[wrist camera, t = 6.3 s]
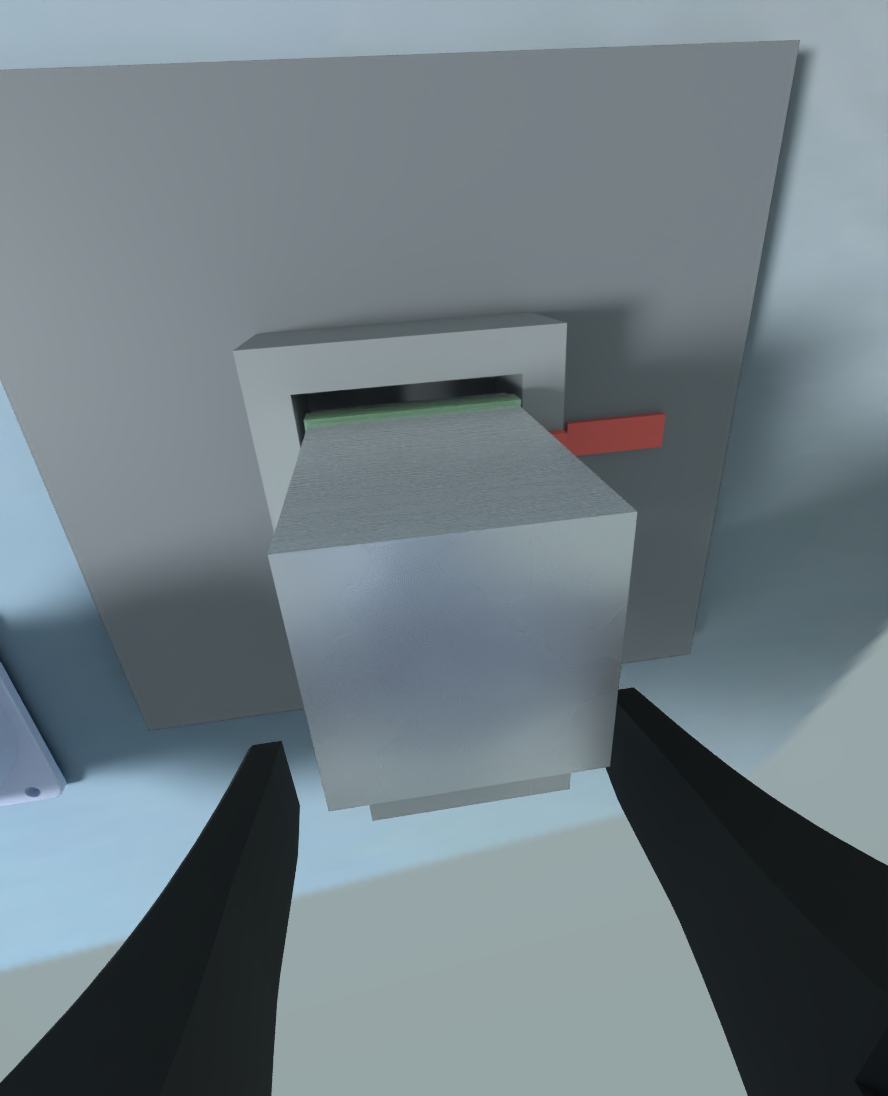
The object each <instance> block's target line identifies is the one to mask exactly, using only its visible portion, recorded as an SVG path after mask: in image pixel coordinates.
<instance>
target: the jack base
mask: <svg viewBox="0 0 888 1096" xmlns="http://www.w3.org/2000/svg"><path fill="white" fill-rule="evenodd" d="M799 42H800V40H786V41H759V42H733V43H706V44H679V45H652V46H626V47H599V48H572V49H545V50H519V51H492V52H465V53H438V54H412V55H385V56H358V57H332V58H305V59H278V60H251V61H225V62H198V63H171V64H144V65H118V66H91V67H64V68H37V69H11V70H0V380H1V383H2V385H3V387H4V390H5V392H6V394H7V397H8V399H9V402H10V404H11V406H12V409H13V411H14V413H15V416H16V418H17V420H18V423H19V425H20V428H21V430H22V432H23V435H24V437H25V439H26V442H27V444H28V447H29V449H30V451H31V454H32V456H33V458H34V461H35V463H36V466H37V468H38V470H39V473H40V475H41V477H42V480H43V482H44V484H45V487H46V489H47V492H48V494H49V496H50V499H51V501H52V503H53V506H54V508H55V511H56V513H57V515H58V518H59V520H60V522H61V525H62V527H63V529H64V532H65V534H66V537H67V539H68V541H69V544H70V546H71V548H72V551H73V553H74V556H75V558H76V560H77V563H78V565H79V567H80V570H81V572H82V574H83V577H84V579H85V582H86V584H87V586H88V589H89V591H90V593H91V596H92V598H93V601H94V603H95V605H96V608H97V610H98V612H99V615H100V617H101V620H102V622H103V624H104V627H105V629H106V631H107V634H108V636H109V638H110V641H111V643H112V646H113V648H114V650H115V653H116V655H117V657H118V660H119V662H120V665H121V667H122V669H123V672H124V674H125V676H126V679H127V681H128V683H129V686H130V688H131V691H132V693H133V695H134V698H135V700H136V702H137V705H138V707H139V710H140V712H141V714H142V717H143V719H144V721H145V724H146V726H147V728H148V731H151V730H158V729H165V728H172V727H179V726H186V725H193V724H200V723H207V722H214V721H221V720H228V719H235V718H242V717H249V716H257V715H264V714H271V713H278V712H285V711H292V710H299V709H304V705H303V701H302V697H301V693H300V688H299V684H298V680H297V676H296V672H295V668H294V663H293V659H292V655H291V651H290V647H289V642H288V638H287V634H286V630H285V626H284V621H283V617H282V613H281V609H280V605H279V600H278V596H277V592H276V588H275V584H274V579H273V575H272V571H271V567H270V563H269V558H268V552H269V549H270V546H271V542H272V539H273V536H274V533H275V529H276V526H277V523H278V520H279V517H280V513H281V510H282V507H283V504H284V500H285V497H286V494H287V491H288V487H289V484H290V481H291V478H292V474H293V471H294V468H295V465H296V462H297V458H298V455H299V452H300V449H301V445H302V442H303V439H304V436H305V432H306V431H305V426H304V417H305V415H306V413H312V411H313V410H323V409H334V408H345V407H355V406H366V405H376V404H387V403H398V402H408V401H419V400H429V399H440V398H451V397H461V396H472V395H482V394H493V393H504V392H505V393H506V394H515V395H516V396H517V397H519V398H520V399H521V407H522V408H523V409H524V410H525V411H526V412H527V413H528V414H529V415H530V416H532V417H533V418H534V419H535V420H536V421H537V422H538V423H539V424H540V425H542V426H543V427H544V428H545V429H546V430H547V431H548V432H549V433H550V434H552V435H553V436H554V437H555V438H556V439H557V440H558V441H559V442H560V443H562V444H563V445H564V446H565V447H566V448H567V449H568V450H569V451H570V452H572V453H573V454H574V455H575V456H576V457H577V458H578V459H579V460H580V461H582V462H583V463H584V464H585V465H586V466H587V467H588V468H589V469H590V470H592V471H593V472H594V473H595V474H596V475H597V476H598V477H599V478H600V479H602V480H603V481H604V482H605V483H606V484H607V485H608V486H609V487H610V488H612V489H613V490H614V491H615V492H616V493H617V494H618V495H619V496H620V497H622V498H623V499H624V500H625V501H626V502H627V503H628V504H629V505H630V506H632V507H633V508H634V509H635V510H636V511H637V520H636V529H635V539H634V548H633V557H632V566H631V576H630V585H629V594H628V603H627V613H626V622H625V631H624V640H623V650H622V659H621V664H622V663H629V662H636V661H643V660H650V659H657V658H664V657H671V656H679V655H686V654H690V651H691V645H692V639H693V634H694V628H695V623H696V617H697V612H698V606H699V600H700V595H701V589H702V584H703V578H704V573H705V567H706V561H707V556H708V550H709V545H710V539H711V533H712V528H713V522H714V517H715V511H716V506H717V500H718V494H719V489H720V483H721V478H722V472H723V467H724V461H725V455H726V450H727V444H728V439H729V433H730V427H731V422H732V416H733V411H734V405H735V400H736V394H737V388H738V383H739V377H740V372H741V366H742V360H743V355H744V349H745V344H746V338H747V333H748V327H749V321H750V316H751V310H752V305H753V299H754V294H755V288H756V282H757V277H758V271H759V266H760V260H761V254H762V249H763V243H764V238H765V232H766V227H767V221H768V215H769V210H770V204H771V199H772V193H773V188H774V182H775V176H776V171H777V165H778V160H779V154H780V148H781V143H782V137H783V132H784V126H785V121H786V115H787V109H788V104H789V98H790V93H791V87H792V81H793V76H794V70H795V65H796V59H797V54H798V48H799Z"/></svg>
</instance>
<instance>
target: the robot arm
mask: <svg viewBox="0 0 888 1096" xmlns="http://www.w3.org/2000/svg"><path fill="white" fill-rule="evenodd" d="M606 770H607V772H608V775H609V778H610V781H611V783H612V786H613V788H614V791H615V793H616V796H617V799H618V801H619V803H620V805H621V807H622V809H623V811H624V813H625V815H626V817H627V819H628V821H629V823H630V825H631V827H632V828H633V831H634V832H635V835H636V837H637V838H638V840H639V842H640V844H641V846H642V848H643V850H644V852H645V854H646V856H647V858H648V860H649V861H650V863H651V865H652V867H653V869H654V871H655V873H656V875H657V877H658V879H659V881H660V883H661V885H662V886H663V889H664V890H665V892H666V894H667V896H668V898H669V900H670V902H671V904H672V906H673V909H674V910H675V913H676V915H677V917H678V919H679V921H680V923H681V926H682V928H683V930H684V933H685V935H686V938H687V940H688V942H689V945H690V947H691V950H692V952H693V954H694V957H695V959H696V962H697V964H698V967H699V969H700V972H701V974H702V977H703V979H704V981H705V984H706V987H707V989H708V992H709V994H710V997H711V999H712V1002H713V1005H714V1007H715V1010H716V1012H717V1015H718V1017H719V1020H720V1022H721V1025H722V1027H723V1030H724V1033H725V1035H726V1038H727V1041H728V1043H729V1046H730V1048H731V1052H732V1054H733V1057H734V1059H735V1062H736V1065H737V1067H738V1070H739V1073H740V1075H741V1078H742V1081H743V1084H744V1086H745V1089H746V1092H747V1095H748V1096H888V865H886V864H884V863H882V862H880V861H878V860H876V859H874V858H873V857H871V856H869V855H867V854H865V853H864V852H862V851H860V850H858V849H856V848H855V847H853V846H851V845H849V844H848V843H846V842H844V841H842V840H840V839H838V838H837V837H835V836H833V835H832V834H830V833H828V832H827V831H825V830H823V829H822V828H820V827H818V826H816V825H815V824H813V823H812V822H810V821H809V820H807V819H805V818H804V817H802V816H801V815H799V814H798V813H796V812H795V811H793V810H791V809H790V808H788V807H787V806H785V805H783V804H782V803H780V802H779V801H777V800H776V799H775V798H773V797H772V796H770V795H768V794H767V793H766V792H764V791H763V790H761V789H760V788H759V787H757V786H756V785H754V784H753V783H752V782H750V781H749V780H747V779H746V778H745V777H743V776H742V775H741V774H739V773H738V772H736V771H735V770H734V769H732V768H731V767H730V766H729V765H727V764H726V763H725V762H723V761H722V760H721V759H719V758H718V757H717V756H716V755H714V754H713V753H712V752H711V751H709V750H708V749H707V748H706V747H704V746H703V745H702V744H701V743H699V742H698V741H697V740H696V739H694V738H693V737H692V736H691V735H689V734H688V733H687V732H686V731H685V730H683V729H682V728H681V727H680V726H679V725H677V724H676V723H675V722H674V721H673V720H671V719H670V718H669V717H668V716H667V715H666V714H664V713H663V712H662V711H661V710H660V709H659V708H657V707H656V706H655V705H654V704H653V703H652V702H650V701H649V700H648V699H647V698H646V697H644V696H643V695H642V694H641V693H640V692H638V691H637V690H636V689H635V688H634V687H633V688H627V689H620V690H618V696H617V705H616V714H615V724H614V733H613V742H612V751H611V761H610V767H606ZM65 786H66V780H65V779H64V777H63V775H62V773H61V771H60V769H59V768H58V766H57V764H56V762H55V760H54V758H53V757H52V755H51V753H50V751H49V749H48V747H47V746H46V744H45V742H44V740H43V738H42V737H41V735H40V733H39V731H38V729H37V727H36V726H35V724H34V722H33V720H32V718H31V716H30V715H29V713H28V711H27V709H26V707H25V705H24V704H23V702H22V700H21V698H20V696H19V695H18V693H17V691H16V689H15V687H14V685H13V684H12V682H11V680H10V678H9V676H8V674H7V673H6V671H5V669H4V667H3V665H2V663H1V662H0V806H4V805H11V804H17V803H24V802H30V801H37V800H44V799H50V798H55V797H58V796H59V795H60V794H61V793H62V792H63V790H64V788H65ZM299 814H300V805H299V801H298V798H297V794H296V791H295V787H294V783H293V780H292V776H291V773H290V769H289V766H288V762H287V759H286V755H285V752H284V748H283V745H282V741H278V742H271V743H265V744H258V745H252V746H251V748H250V749H249V750H248V752H247V753H246V755H245V757H244V759H243V761H242V763H241V765H240V767H239V769H238V770H237V772H236V774H235V776H234V778H233V780H232V781H231V783H230V785H229V787H228V789H227V790H226V792H225V794H224V796H223V797H222V799H221V801H220V803H219V804H218V806H217V808H216V809H215V811H214V813H213V814H212V816H211V818H210V819H209V821H208V823H207V824H206V826H205V827H204V829H203V831H202V832H201V834H200V836H199V837H198V839H197V841H196V842H195V844H194V845H193V847H192V848H191V850H190V851H189V853H188V854H187V856H186V857H185V859H184V860H183V862H182V863H181V865H180V866H179V868H178V869H177V871H176V872H175V874H174V875H173V877H172V878H171V880H170V881H169V883H168V884H167V886H166V887H165V889H164V890H163V892H162V893H161V894H160V896H159V897H158V899H157V900H156V901H155V903H154V904H153V905H152V907H151V908H150V910H149V911H148V912H147V914H146V915H145V916H144V918H143V919H142V920H141V922H140V923H139V924H138V926H137V927H136V928H135V929H134V931H133V932H132V933H131V935H130V936H129V937H128V939H127V940H126V941H125V942H124V944H123V945H122V946H121V948H120V949H119V950H118V951H117V952H116V954H115V955H114V956H113V957H112V959H111V960H110V961H109V962H108V963H107V965H106V966H105V967H104V968H103V969H102V971H101V972H100V973H99V974H98V976H97V977H96V978H95V979H94V980H93V982H92V983H91V984H90V985H89V987H88V988H87V989H86V990H85V991H84V992H83V993H82V995H81V996H80V997H79V998H78V999H77V1000H76V1002H75V1003H74V1004H73V1005H72V1006H71V1007H70V1008H69V1010H68V1011H67V1012H66V1013H65V1014H64V1015H63V1016H62V1017H61V1018H60V1019H59V1020H58V1021H57V1023H56V1024H55V1025H54V1026H53V1027H52V1028H51V1029H50V1030H49V1031H48V1032H47V1033H46V1035H45V1036H44V1037H43V1038H42V1039H41V1040H40V1041H39V1042H38V1043H37V1044H36V1045H35V1047H34V1048H33V1049H32V1050H31V1051H30V1052H29V1053H28V1054H27V1055H26V1056H25V1057H24V1059H22V1061H21V1062H20V1063H19V1064H18V1065H17V1066H16V1067H15V1068H14V1069H13V1070H12V1071H11V1072H10V1073H9V1074H8V1075H7V1076H6V1077H5V1078H4V1080H3V1081H2V1082H1V1083H0V1096H271V1090H272V1073H273V1054H274V1040H275V1025H276V1010H277V998H278V989H279V979H280V972H281V965H282V958H283V952H284V945H285V939H286V932H287V926H288V919H289V912H290V906H291V899H292V892H293V885H294V879H295V872H296V865H297V858H298V841H299Z"/></svg>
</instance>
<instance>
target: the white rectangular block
mask: <svg viewBox="0 0 888 1096" xmlns="http://www.w3.org/2000/svg"><path fill="white" fill-rule="evenodd" d="M304 426H305V431H306V432H305V436H304V439H303V442H302V445H301V449H300V452H299V455H298V458H297V462H296V465H295V468H294V471H293V474H292V478H291V481H290V484H289V487H288V491H287V494H286V497H285V500H284V504H283V507H282V510H281V513H280V517H279V520H278V523H277V526H276V529H275V533H274V536H273V539H272V542H271V546H270V549H269V552H268V558H269V563H270V567H271V571H272V575H273V579H274V584H275V588H276V592H277V596H278V600H279V605H280V609H281V613H282V617H283V621H284V626H285V630H286V634H287V638H288V642H289V647H290V651H291V655H292V659H293V663H294V668H295V672H296V676H297V680H298V684H299V688H300V693H301V697H302V701H303V705H304V709H305V714H306V718H307V722H308V726H309V730H310V735H311V739H312V743H313V747H314V751H315V756H316V760H317V764H318V768H319V772H320V777H321V781H322V785H323V789H324V793H325V798H326V802H327V806H328V810H329V811H334V810H340V809H347V808H353V807H359V806H365V805H370V810H371V815H372V820H373V821H374V820H381V819H387V818H393V817H399V816H405V815H411V814H418V813H424V812H430V811H436V810H442V809H448V808H455V807H461V806H467V805H473V804H479V803H485V802H492V801H498V800H504V799H510V798H516V797H523V796H529V795H535V794H541V793H547V792H553V791H560V790H566V789H570V774H571V773H573V772H579V771H585V770H591V769H598V768H604V767H610V761H611V751H612V742H613V733H614V724H615V714H616V705H617V696H618V687H619V677H620V668H621V659H622V650H623V640H624V631H625V622H626V613H627V603H628V594H629V585H630V576H631V566H632V557H633V548H634V539H635V529H636V520H637V511H636V510H635V509H634V508H633V507H632V506H630V505H629V504H628V503H627V502H626V501H625V500H624V499H623V498H622V497H620V496H619V495H618V494H617V493H616V492H615V491H614V490H613V489H612V488H610V487H609V486H608V485H607V484H606V483H605V482H604V481H603V480H602V479H600V478H599V477H598V476H597V475H596V474H595V473H594V472H593V471H592V470H590V469H589V468H588V467H587V466H586V465H585V464H584V463H583V462H582V461H580V460H579V459H578V458H577V457H576V456H575V455H574V454H573V453H572V452H570V451H569V450H568V449H567V448H566V447H565V446H564V445H563V444H562V443H560V442H559V441H558V440H557V439H556V438H555V437H554V436H553V435H552V434H550V433H549V432H548V431H547V430H546V429H545V428H544V427H543V426H542V425H540V424H539V423H538V422H537V421H536V420H535V419H534V418H533V417H532V416H530V415H529V414H528V413H527V412H526V411H525V410H524V409H523V408H522V407H521V399H520V398H519V397H517V396H516V395H515V394H506V393H505V392H504V393H493V394H482V395H472V396H461V397H451V398H440V399H429V400H419V401H408V402H398V403H387V404H376V405H366V406H355V407H345V408H334V409H323V410H313V411H312V413H306V415H305V417H304Z"/></svg>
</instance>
